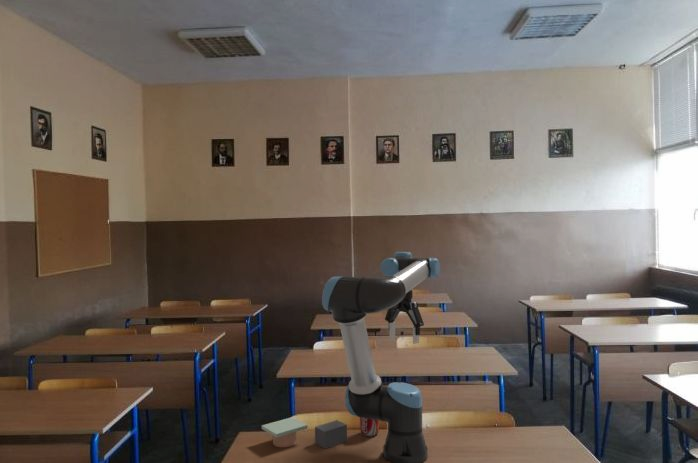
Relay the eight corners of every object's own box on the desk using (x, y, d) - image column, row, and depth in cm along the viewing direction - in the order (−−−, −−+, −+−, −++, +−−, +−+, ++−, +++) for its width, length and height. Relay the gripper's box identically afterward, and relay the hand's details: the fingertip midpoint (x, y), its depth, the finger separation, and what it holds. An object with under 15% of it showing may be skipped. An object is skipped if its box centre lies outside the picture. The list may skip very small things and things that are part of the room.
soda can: (379, 437, 184) (378, 405, 184) (360, 437, 184) (359, 405, 185) (378, 430, 191) (378, 398, 191) (360, 430, 191) (359, 398, 192)
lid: (307, 428, 181) (307, 425, 181) (276, 437, 172) (276, 434, 172) (291, 420, 189) (291, 417, 189) (261, 428, 181) (261, 425, 181)
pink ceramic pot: (300, 442, 180) (300, 429, 180) (280, 449, 175) (280, 435, 175) (288, 435, 186) (288, 422, 186) (268, 441, 181) (268, 428, 181)
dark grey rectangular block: (346, 441, 181) (346, 424, 181) (324, 448, 175) (324, 431, 175) (337, 436, 186) (336, 420, 186) (315, 443, 179) (314, 426, 179)
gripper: (432, 290, 197) (432, 344, 197) (389, 286, 217) (389, 335, 216) (419, 292, 193) (420, 346, 192) (376, 287, 212) (376, 337, 212)
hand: (403, 340), depth 204 cm, fingers open, 13 cm apart
